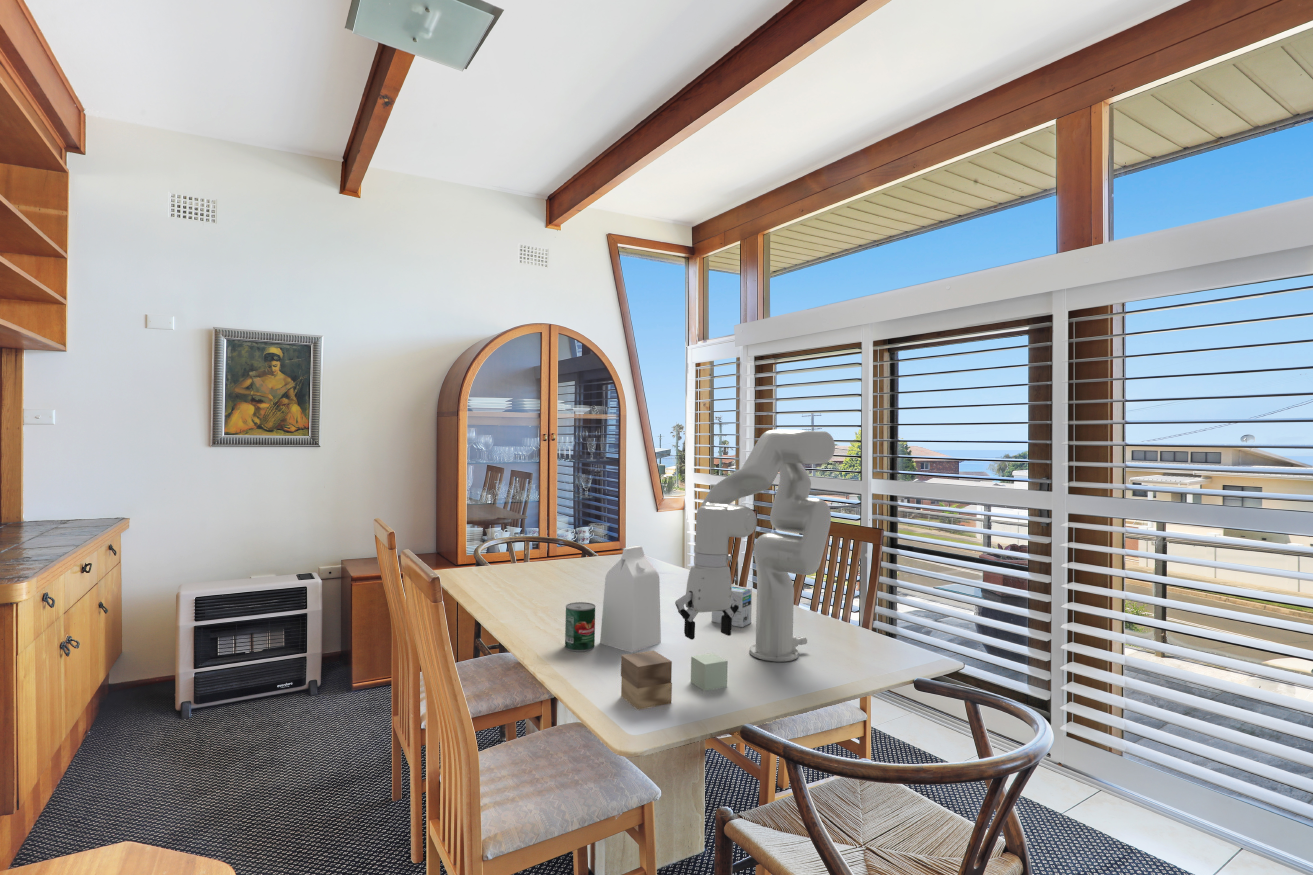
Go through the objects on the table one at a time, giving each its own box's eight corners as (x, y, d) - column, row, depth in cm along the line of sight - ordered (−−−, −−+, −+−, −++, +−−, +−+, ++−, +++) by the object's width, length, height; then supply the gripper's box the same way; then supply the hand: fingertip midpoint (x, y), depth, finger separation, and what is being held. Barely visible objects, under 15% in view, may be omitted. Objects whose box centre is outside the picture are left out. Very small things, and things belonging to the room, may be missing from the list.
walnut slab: (653, 670, 149) (653, 650, 149) (671, 682, 142) (671, 661, 142) (620, 675, 145) (621, 655, 145) (637, 688, 138) (638, 666, 138)
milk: (629, 633, 191) (631, 542, 191) (660, 642, 184) (663, 547, 184) (599, 643, 182) (602, 547, 182) (631, 652, 175) (634, 552, 175)
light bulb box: (752, 622, 206) (752, 587, 206) (742, 627, 200) (743, 591, 200) (720, 617, 211) (721, 582, 211) (710, 621, 206) (711, 586, 206)
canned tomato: (573, 640, 183) (574, 600, 183) (599, 644, 181) (600, 603, 181) (559, 649, 176) (560, 607, 176) (586, 653, 173) (587, 610, 173)
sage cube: (712, 678, 157) (713, 652, 157) (727, 687, 152) (727, 660, 152) (690, 682, 155) (691, 656, 155) (704, 691, 149) (705, 664, 149)
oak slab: (653, 690, 149) (654, 670, 149) (671, 704, 142) (671, 682, 142) (621, 696, 145) (621, 675, 145) (637, 710, 138) (637, 688, 138)
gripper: (733, 556, 161) (730, 628, 160) (669, 559, 153) (666, 635, 152) (751, 561, 154) (748, 636, 154) (686, 564, 146) (683, 644, 145)
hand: (707, 635), depth 153 cm, fingers open, 9 cm apart
